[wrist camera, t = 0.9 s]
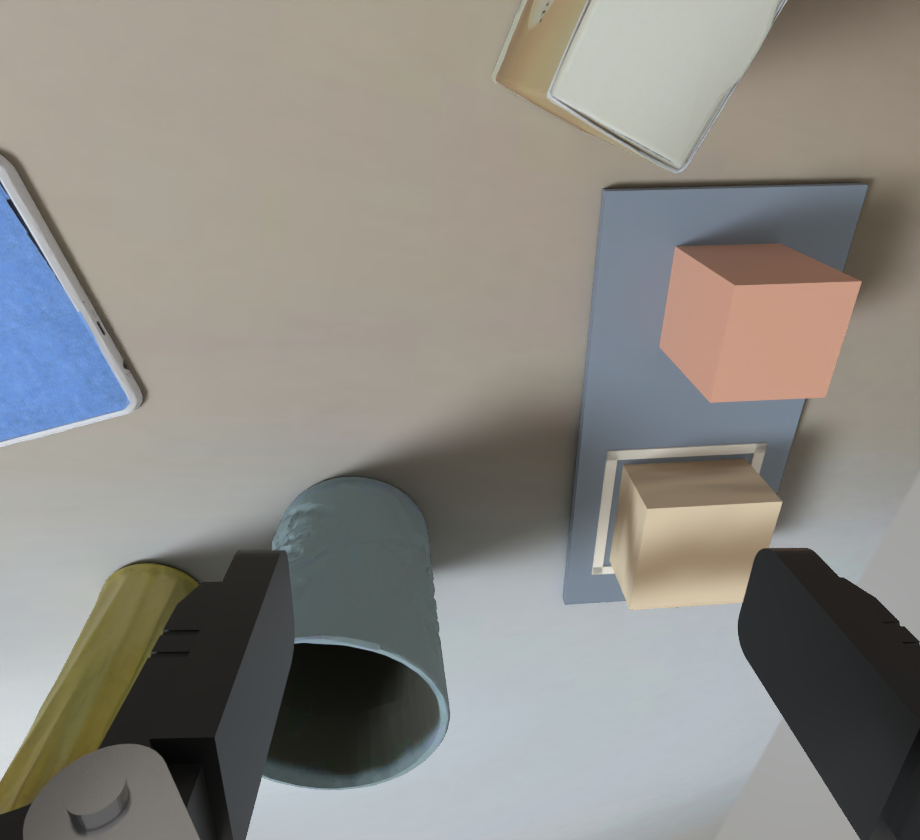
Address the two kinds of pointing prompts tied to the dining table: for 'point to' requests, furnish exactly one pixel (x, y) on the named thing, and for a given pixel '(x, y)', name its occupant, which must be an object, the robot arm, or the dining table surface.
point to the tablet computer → (49, 332)
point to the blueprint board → (652, 372)
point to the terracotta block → (755, 321)
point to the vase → (95, 676)
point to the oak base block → (690, 531)
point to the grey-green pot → (358, 640)
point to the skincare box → (635, 67)
